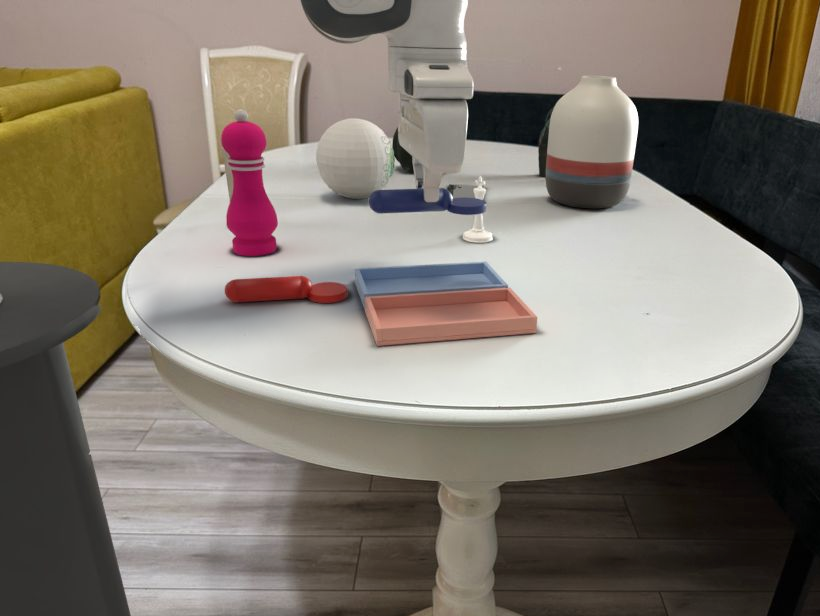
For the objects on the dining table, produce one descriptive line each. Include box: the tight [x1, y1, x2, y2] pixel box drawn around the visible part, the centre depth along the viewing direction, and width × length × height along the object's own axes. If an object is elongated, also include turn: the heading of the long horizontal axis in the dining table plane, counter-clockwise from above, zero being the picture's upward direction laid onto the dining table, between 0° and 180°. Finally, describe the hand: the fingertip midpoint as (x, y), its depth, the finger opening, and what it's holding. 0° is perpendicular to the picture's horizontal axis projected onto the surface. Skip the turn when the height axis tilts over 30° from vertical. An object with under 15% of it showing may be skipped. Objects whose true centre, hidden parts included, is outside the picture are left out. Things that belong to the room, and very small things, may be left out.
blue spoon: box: [368, 187, 488, 216], centre depth 83 cm, size 15×5×3 cm, turn 105°
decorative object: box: [315, 117, 396, 200], centre depth 130 cm, size 15×15×15 cm
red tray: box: [364, 287, 538, 347], centre depth 78 cm, size 18×10×2 cm, turn 105°
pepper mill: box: [220, 108, 279, 257], centre depth 97 cm, size 7×7×20 cm
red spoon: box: [224, 275, 349, 304], centre depth 83 cm, size 15×5×3 cm, turn 105°
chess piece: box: [462, 176, 494, 244], centre depth 108 cm, size 5×5×10 cm
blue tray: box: [353, 261, 509, 311], centre depth 87 cm, size 18×10×2 cm, turn 105°
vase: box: [545, 75, 639, 210], centre depth 132 cm, size 17×17×24 cm
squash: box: [391, 126, 414, 173], centre depth 159 cm, size 14×15×15 cm
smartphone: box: [446, 183, 485, 198], centre depth 139 cm, size 8×1×16 cm
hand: (426, 197), depth 82 cm, fingers closed on blue spoon, 3 cm apart
